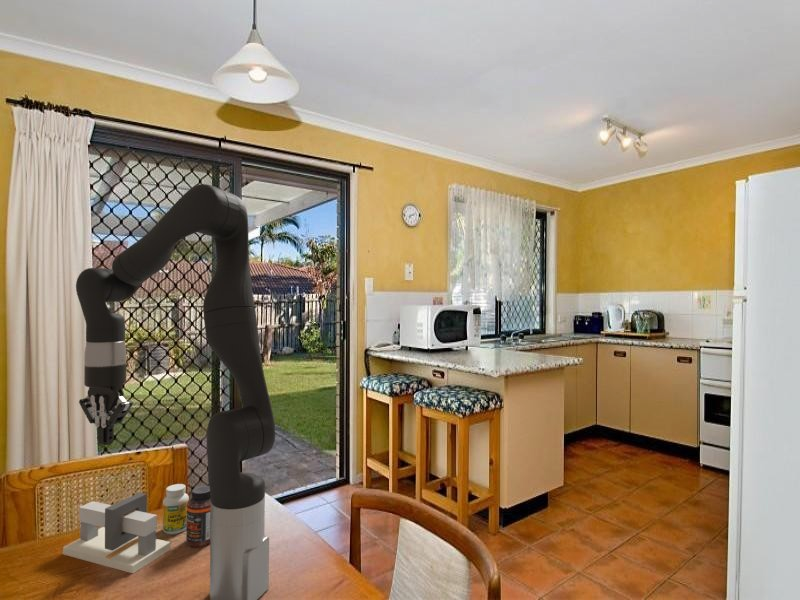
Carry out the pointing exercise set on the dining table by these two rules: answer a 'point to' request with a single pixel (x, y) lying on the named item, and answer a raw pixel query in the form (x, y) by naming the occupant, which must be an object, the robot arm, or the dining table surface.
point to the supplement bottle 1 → (175, 509)
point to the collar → (114, 520)
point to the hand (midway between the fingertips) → (105, 443)
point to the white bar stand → (127, 554)
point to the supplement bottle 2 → (199, 517)
